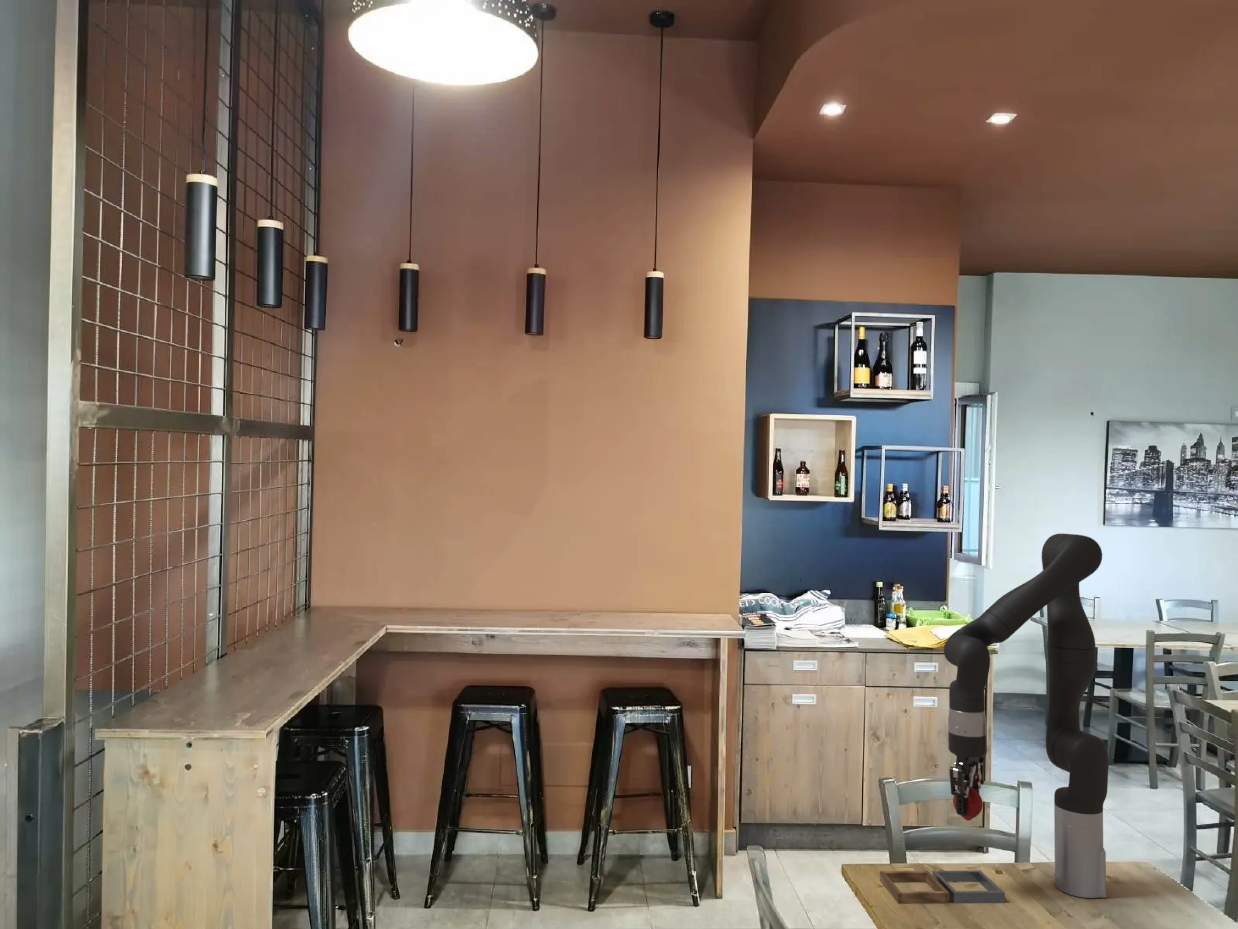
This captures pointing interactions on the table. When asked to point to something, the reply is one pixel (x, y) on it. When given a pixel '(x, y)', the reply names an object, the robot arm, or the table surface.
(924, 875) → the walnut frame
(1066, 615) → the robot arm
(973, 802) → the pomegranate
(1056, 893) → the table surface
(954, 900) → the grey frame
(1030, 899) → the table surface
